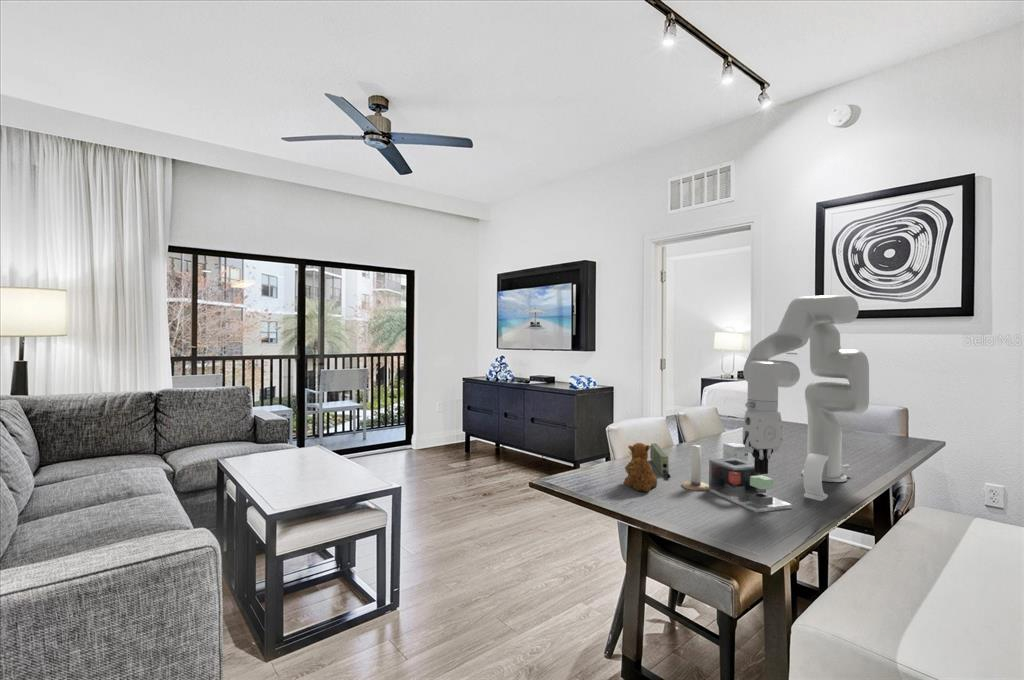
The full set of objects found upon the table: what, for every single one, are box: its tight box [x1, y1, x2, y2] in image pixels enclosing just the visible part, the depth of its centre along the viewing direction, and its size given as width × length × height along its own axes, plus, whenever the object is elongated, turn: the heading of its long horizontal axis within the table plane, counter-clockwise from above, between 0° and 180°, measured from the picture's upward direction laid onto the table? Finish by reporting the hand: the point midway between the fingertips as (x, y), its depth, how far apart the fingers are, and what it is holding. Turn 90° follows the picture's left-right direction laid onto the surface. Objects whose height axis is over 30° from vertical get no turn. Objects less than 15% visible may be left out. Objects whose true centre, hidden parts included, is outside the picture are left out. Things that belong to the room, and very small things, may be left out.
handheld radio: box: [649, 442, 671, 479], centre depth 170 cm, size 7×3×25 cm
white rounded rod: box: [690, 444, 702, 486], centre depth 150 cm, size 3×3×12 cm
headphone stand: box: [802, 453, 829, 502], centre depth 141 cm, size 5×6×12 cm
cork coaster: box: [681, 480, 709, 492], centre depth 150 cm, size 8×8×1 cm
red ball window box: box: [705, 458, 793, 514], centre depth 140 cm, size 12×20×9 cm, turn 17°
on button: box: [750, 474, 774, 494], centre depth 135 cm, size 4×4×4 cm
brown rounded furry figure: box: [623, 442, 658, 493], centre depth 149 cm, size 10×14×13 cm
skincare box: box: [722, 442, 749, 461], centre depth 177 cm, size 6×6×7 cm
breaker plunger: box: [728, 471, 741, 486], centre depth 144 cm, size 3×3×4 cm
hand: (761, 472), depth 135 cm, fingers closed
